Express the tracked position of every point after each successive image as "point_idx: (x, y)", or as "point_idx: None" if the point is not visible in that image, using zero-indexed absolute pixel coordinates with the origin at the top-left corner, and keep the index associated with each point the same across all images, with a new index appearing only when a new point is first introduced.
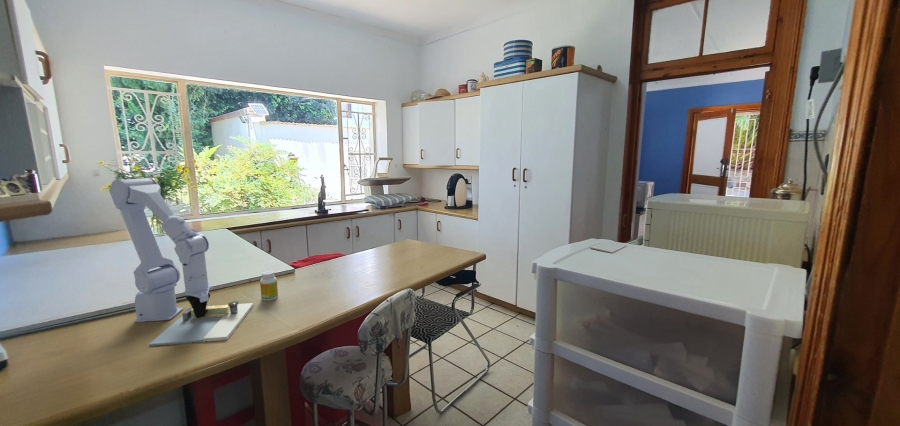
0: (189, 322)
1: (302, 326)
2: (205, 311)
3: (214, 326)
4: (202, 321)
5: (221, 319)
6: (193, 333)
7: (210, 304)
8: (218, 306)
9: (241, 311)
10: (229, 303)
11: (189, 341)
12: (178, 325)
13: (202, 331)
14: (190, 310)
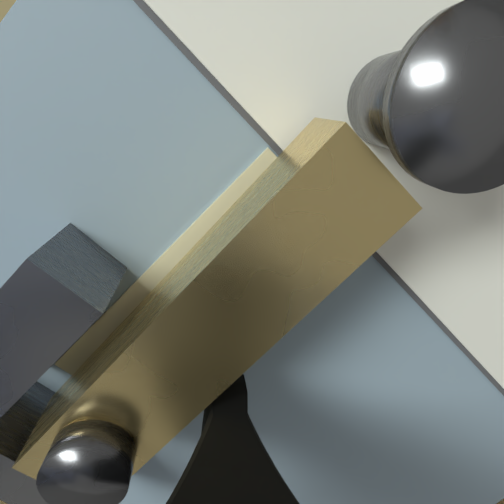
0: (184, 441)
1: None
2: (247, 404)
3: (485, 362)
4: (259, 374)
5: (412, 270)
6: (416, 470)
7: (13, 277)
8: (267, 270)
9: (435, 7)
10: (426, 153)
11: (487, 501)
12: None
13: (447, 427)
14: None
